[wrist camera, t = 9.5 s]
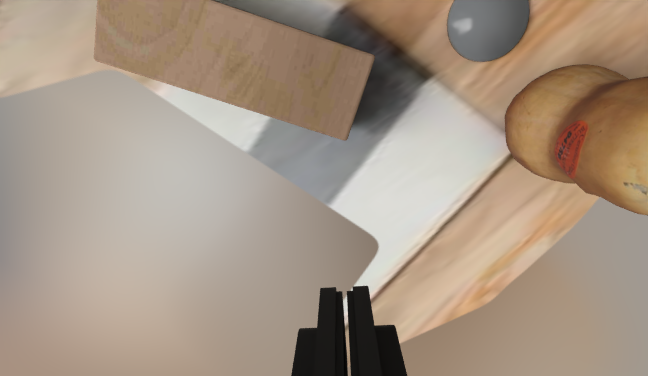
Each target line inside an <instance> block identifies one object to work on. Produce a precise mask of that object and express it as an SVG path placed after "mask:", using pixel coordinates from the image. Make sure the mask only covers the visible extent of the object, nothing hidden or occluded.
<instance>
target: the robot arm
mask: <svg viewBox="0 0 648 376" xmlns="http://www.w3.org/2000/svg"><path fill="white" fill-rule="evenodd" d="M347 302H348V323H349V343H350V364H351V376H407V374H406V369H405V365H404V361H403V356H402V352H401V349H400V344H399V340H398V336H397V332H396V328H395V326H394V325H379V326H374V320H373V314H372V308H371V301H370V295H369V288H368V286H355V287H353V291H347ZM291 376H348V371H347V350H346V337H345V323H344V310H343V297H342V292H341V291H339V292H336V287H333V288H321V289H320V301H319V312H318V326H317V328H301V329H299V332H298V337H297V344H296V350H295V357H294V362H293V369H292V375H291Z"/></svg>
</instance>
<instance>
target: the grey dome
mask: <svg viewBox="0 0 648 376" xmlns="http://www.w3.org/2000/svg"><path fill="white" fill-rule="evenodd" d="M528 19H529V2H528V0H454V2H453V4H452V6H451V8H450V11H449V15H448V20H447V32H448V37H449V40H450V42H451V45H452V46H453V48H454V49H455V50H456V52H457V53H459V54H460V55H461V56H462V57H464V58H466V59H468V60H471V61H477V62H484V61H491V60H494V59H497V58H499V57H501V56H503V55H505V54H506V53H508V52H509V51H510V50H511V49H512V48H513V47H514V46H515V45H516V44H517V43H518V42H519V40H520V39H521V37H522V35H523V34H524V32H525V29H526V27H527V23H528Z"/></svg>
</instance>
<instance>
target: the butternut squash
mask: <svg viewBox="0 0 648 376" xmlns="http://www.w3.org/2000/svg"><path fill="white" fill-rule="evenodd" d="M505 132H506V143H507V146H508V149H509V151H510V152H511V154H512V155H513V157H514V159H515V160H516V161H517V162H519V163H520V164H521V165H522V166H524V167H525V168H526V169H528V170H529V171H531V172H532V173H534V174H536V175H538V176H541V177H544V178H547V179H550V180H554V181H559V182H564V183H576V184H577V185H578V186H579V187H580V188H581V189H582V190H584V191H585V192H586V193H588V194H592V195H596V196H599V197H602V198H604V199H605V200H607V201H609V202H611V203H613V204H615V205H617V206H619V207H622V208H624V209H627V210H629V211H632V212H634V213H637V214H643V215H648V77H643V78H636V79H630V80H629V79H627V78H626V77H624V76H623V75H621V74H619V73H617V72H614V71H611V70H609V69H606V68H603V67H599V66H594V65H572V66H567V67H562V68H558V69H555V70H552V71H550V72H548V73H546V74H544V75H542V76H540V77H538V78H537V79H535V80H534V81H532V82H531V83H529V84H528V85H527V86H526V87H525V88H524V89H523V90H522V91H521V92H520V93H519V94H517V95H516V96H515V97H514V99H513V100H512V102H511V103H510V105H509V107H508V109H507V111H506V114H505Z"/></svg>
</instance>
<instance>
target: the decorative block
mask: <svg viewBox="0 0 648 376" xmlns="http://www.w3.org/2000/svg"><path fill="white" fill-rule="evenodd" d="M94 59H95V60H96V61H98V62H101V63H104V64H108V65H111V66H114V67H117V68H120V69H123V70H126V71H129V72H132V73H136V74H139V75H142V76H145V77H148V78H151V79H154V80H157V81H160V82H164V83H167V84H170V85H173V86H176V87H179V88H182V89H185V90H188V91H192V92H195V93H198V94H201V95H204V96H207V97H210V98H213V99H217V100H220V101H223V102H226V103H229V104H232V105H235V106H238V107H241V108H245V109H248V110H251V111H254V112H257V113H260V114H263V115H266V116H269V117H273V118H276V119H279V120H282V121H285V122H288V123H291V124H294V125H298V126H301V127H304V128H307V129H310V130H313V131H316V132H319V133H322V134H326V135H329V136H332V137H335V138H338V139H341V140H347V139H348V136H349V133H350V130H351V127H352V124H353V121H354V118H355V115H356V112H357V109H358V106H359V103H360V100H361V98H362V95H363V92H364V89H365V86H366V83H367V80H368V77H369V74H370V71H371V68H372V65H373V62H374V59H375V56H374V55H373V54H370V53H367V52H364V51H361V50H358V49H355V48H352V47H349V46H346V45H343V44H340V43H337V42H334V41H331V40H328V39H326V38H323V37H320V36H317V35H314V34H311V33H308V32H305V31H302V30H299V29H296V28H293V27H290V26H287V25H284V24H281V23H278V22H275V21H272V20H269V19H267V18H264V17H261V16H258V15H255V14H252V13H249V12H246V11H243V10H240V9H237V8H234V7H231V6H228V5H225V4H222V3H219V2H216V1H213V0H97V16H96V32H95V48H94Z"/></svg>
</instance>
